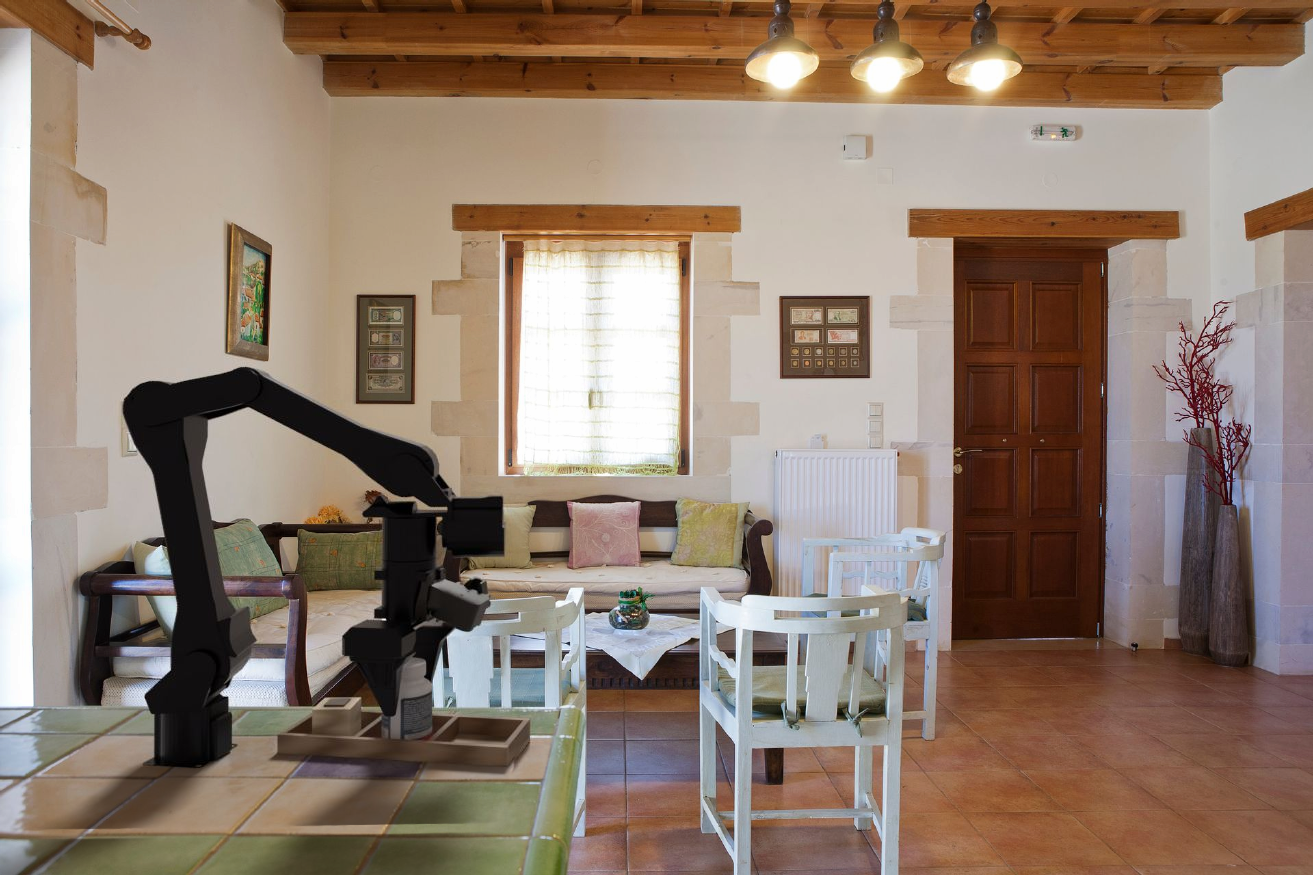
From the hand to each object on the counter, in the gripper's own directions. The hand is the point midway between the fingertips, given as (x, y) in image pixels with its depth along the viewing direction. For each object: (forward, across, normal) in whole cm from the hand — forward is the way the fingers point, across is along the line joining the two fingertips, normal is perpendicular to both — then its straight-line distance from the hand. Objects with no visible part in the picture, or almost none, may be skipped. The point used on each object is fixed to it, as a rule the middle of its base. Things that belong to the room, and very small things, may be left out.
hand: (408, 701), depth 91 cm
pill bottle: (+5, 0, 0) cm, 5 cm away
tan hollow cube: (+4, 0, +8) cm, 9 cm away
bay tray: (+5, 0, 0) cm, 5 cm away
